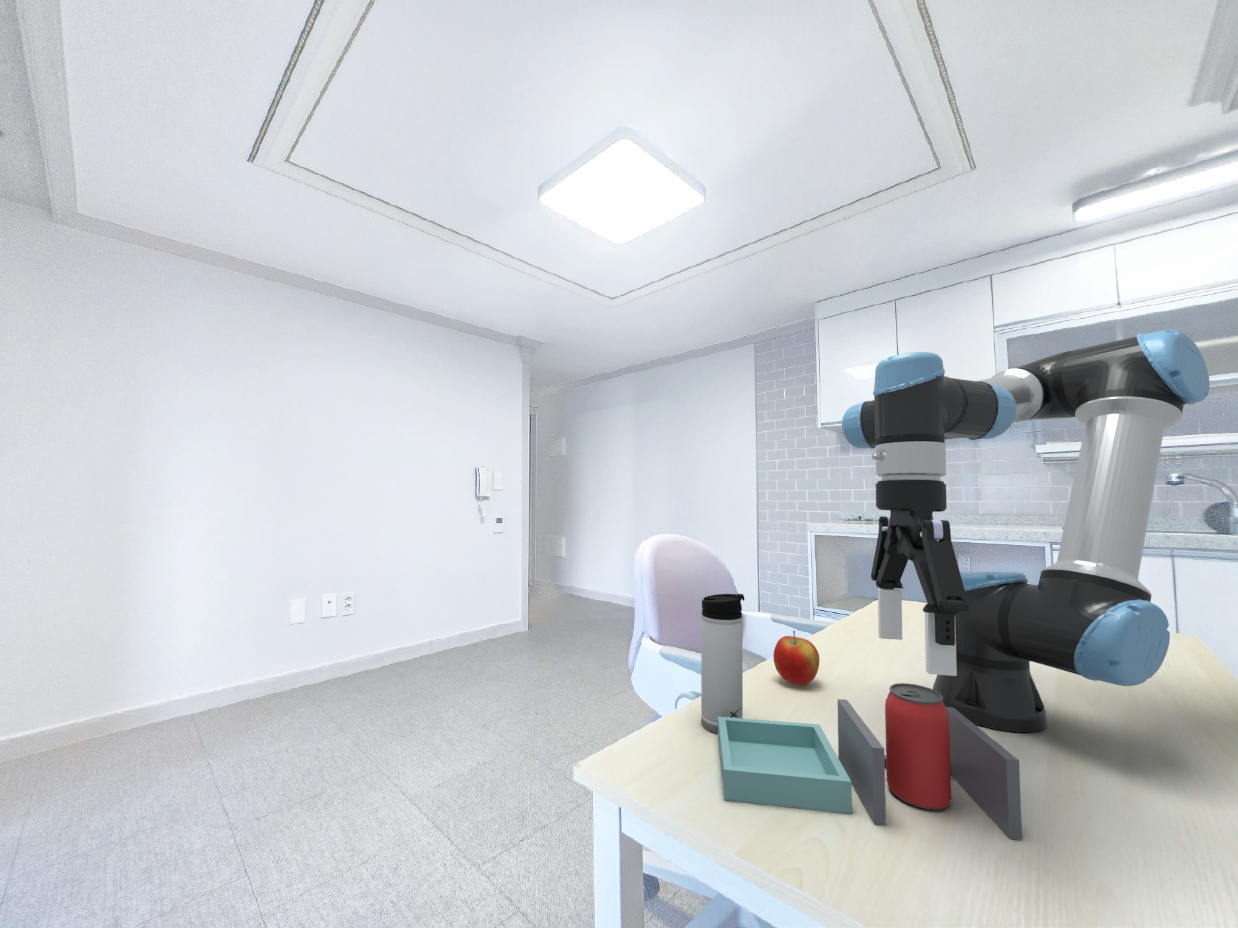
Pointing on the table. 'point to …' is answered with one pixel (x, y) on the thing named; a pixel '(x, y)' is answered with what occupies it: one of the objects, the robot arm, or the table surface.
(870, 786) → the bay
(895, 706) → the beer can
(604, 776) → the table surface
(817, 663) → the apple
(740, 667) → the travel mug
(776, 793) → the tray
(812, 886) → the table surface
